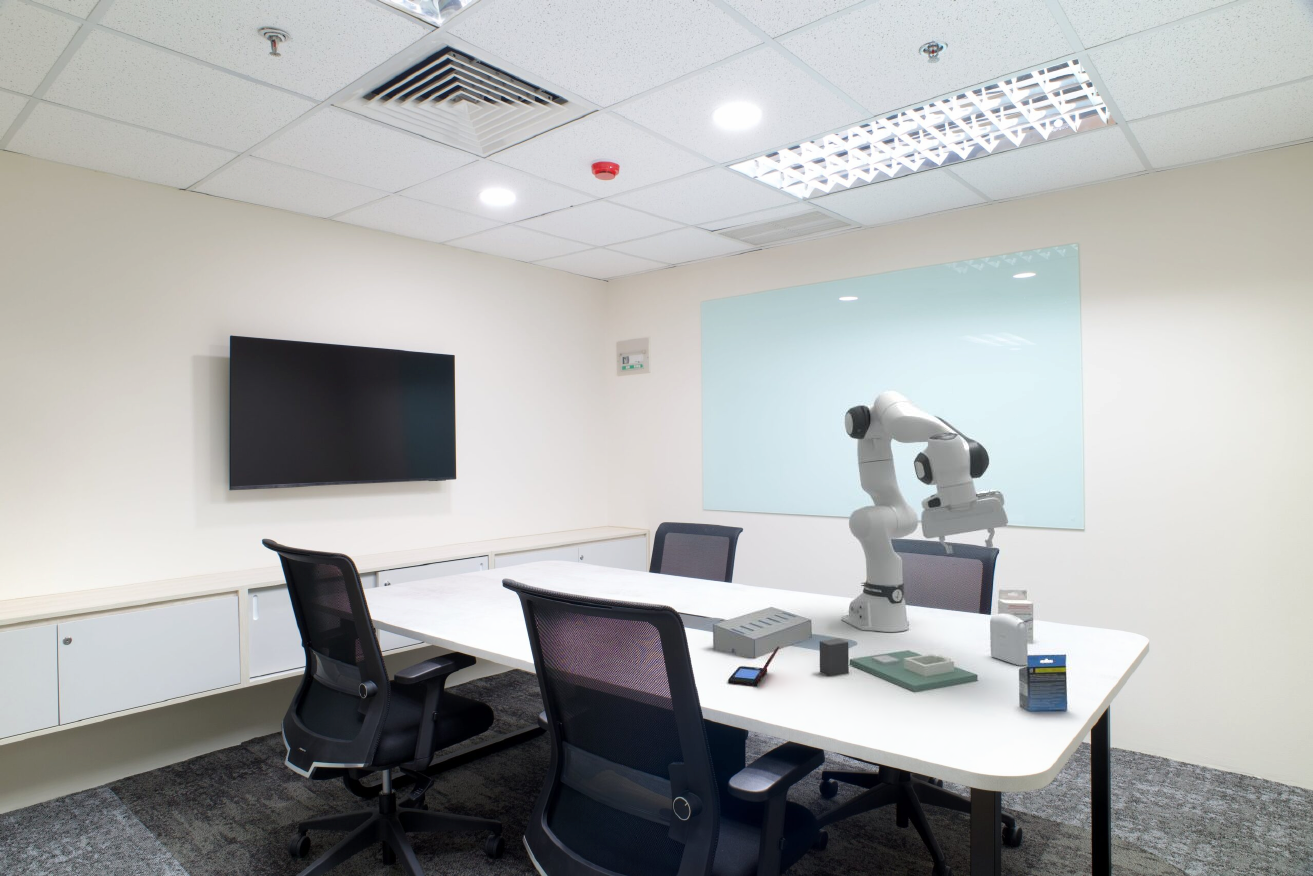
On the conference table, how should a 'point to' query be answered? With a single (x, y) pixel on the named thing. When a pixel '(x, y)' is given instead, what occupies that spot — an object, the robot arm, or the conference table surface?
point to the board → (914, 670)
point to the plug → (834, 657)
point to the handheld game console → (750, 674)
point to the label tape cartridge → (1043, 683)
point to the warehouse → (760, 632)
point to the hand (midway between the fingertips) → (969, 550)
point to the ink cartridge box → (1017, 608)
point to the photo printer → (1008, 639)
